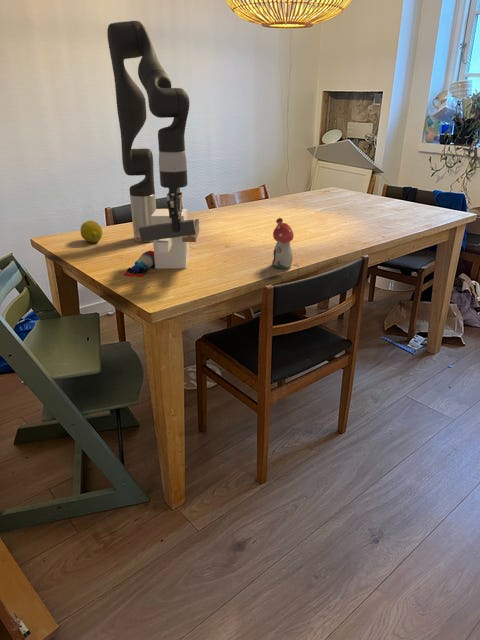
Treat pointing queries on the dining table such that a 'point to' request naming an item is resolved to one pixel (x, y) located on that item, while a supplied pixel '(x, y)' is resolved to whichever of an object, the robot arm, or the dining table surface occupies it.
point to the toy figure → (142, 264)
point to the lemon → (91, 231)
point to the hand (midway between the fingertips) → (176, 230)
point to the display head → (170, 243)
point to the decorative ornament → (282, 245)
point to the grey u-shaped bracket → (168, 230)
